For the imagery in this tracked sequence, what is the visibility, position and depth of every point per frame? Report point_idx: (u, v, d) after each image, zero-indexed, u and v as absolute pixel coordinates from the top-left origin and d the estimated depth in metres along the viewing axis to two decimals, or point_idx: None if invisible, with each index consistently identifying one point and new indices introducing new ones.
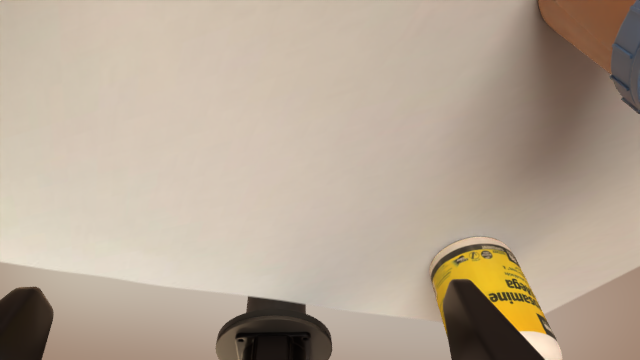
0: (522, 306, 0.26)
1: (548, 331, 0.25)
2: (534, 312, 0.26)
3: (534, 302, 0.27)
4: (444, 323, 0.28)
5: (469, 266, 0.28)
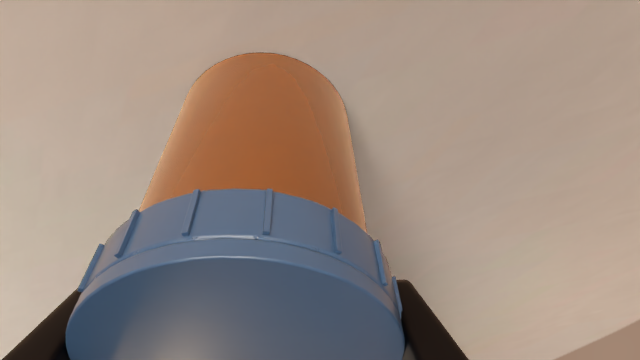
0: None
1: None
2: None
3: None
4: None
5: None
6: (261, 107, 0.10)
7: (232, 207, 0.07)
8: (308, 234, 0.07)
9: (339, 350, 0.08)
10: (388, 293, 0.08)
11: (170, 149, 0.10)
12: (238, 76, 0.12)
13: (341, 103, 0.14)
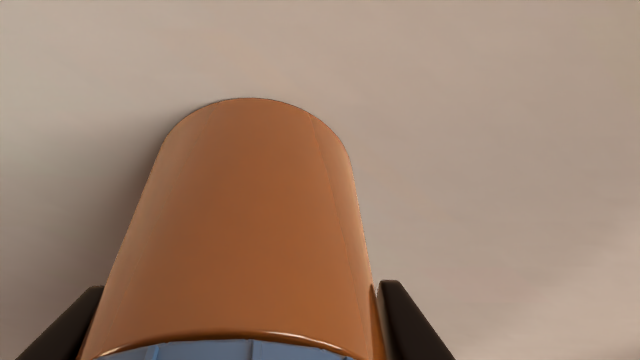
0: None
1: None
2: None
3: None
4: None
5: None
6: (362, 238, 0.09)
7: None
8: None
9: None
10: None
11: (282, 208, 0.08)
12: (339, 165, 0.10)
13: None
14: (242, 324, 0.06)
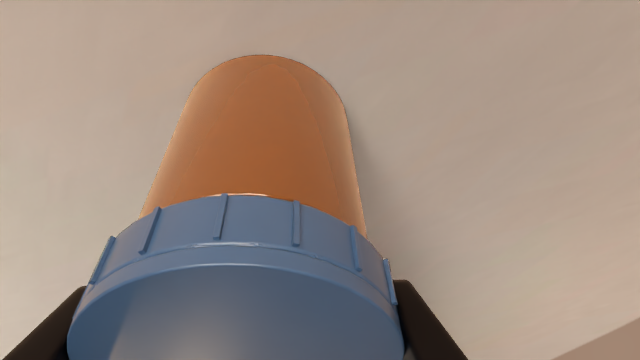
0: None
1: None
2: None
3: None
4: None
5: None
6: (255, 108, 0.10)
7: None
8: None
9: (150, 337, 0.07)
10: None
11: (169, 154, 0.10)
12: (233, 79, 0.12)
13: (338, 101, 0.14)
14: None
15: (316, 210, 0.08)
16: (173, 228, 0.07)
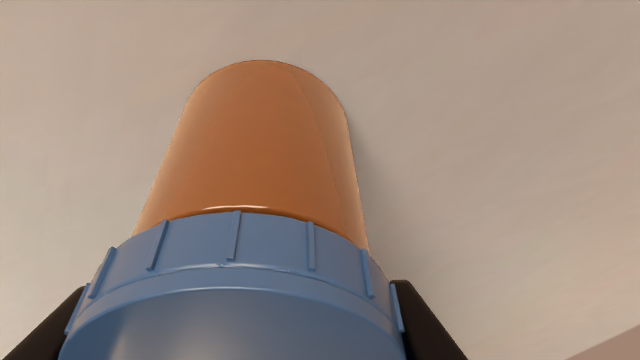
0: None
1: None
2: None
3: None
4: None
5: None
6: (253, 115, 0.10)
7: None
8: None
9: None
10: None
11: (165, 163, 0.10)
12: (231, 85, 0.12)
13: (338, 105, 0.13)
14: None
15: (130, 239, 0.07)
16: None
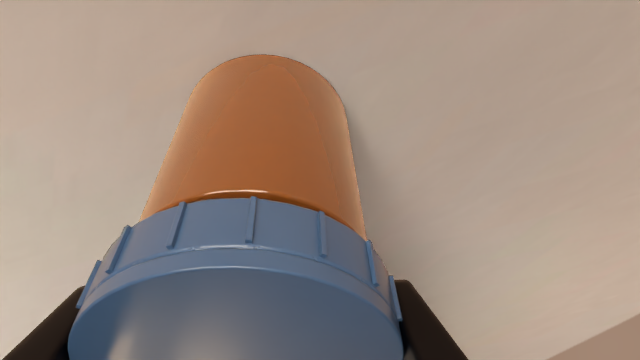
0: None
1: None
2: None
3: None
4: None
5: None
6: (251, 107, 0.11)
7: None
8: None
9: None
10: None
11: (168, 155, 0.11)
12: (230, 79, 0.12)
13: (336, 97, 0.14)
14: None
15: None
16: None
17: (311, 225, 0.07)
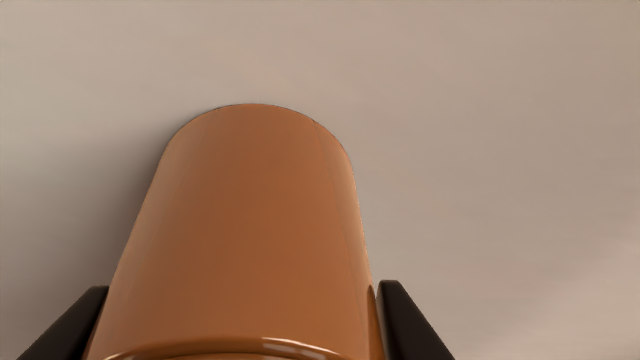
0: None
1: None
2: None
3: None
4: None
5: None
6: (358, 236, 0.09)
7: None
8: None
9: None
10: None
11: (268, 211, 0.08)
12: (332, 164, 0.10)
13: None
14: (222, 330, 0.06)
15: None
16: None
17: None
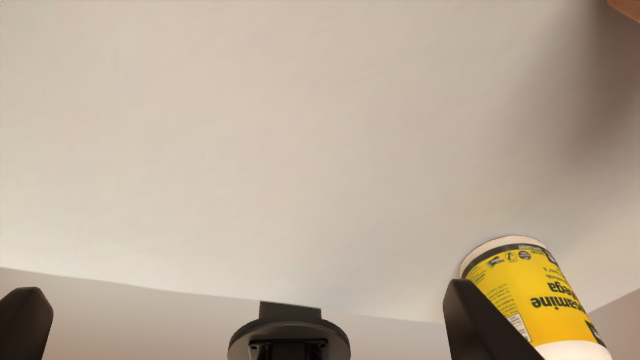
0: (569, 312, 0.23)
1: (599, 340, 0.23)
2: (581, 319, 0.23)
3: (580, 307, 0.24)
4: None
5: (506, 268, 0.26)
6: None
7: None
8: None
9: None
10: None
11: None
12: None
13: None
14: None
15: None
16: None
17: None
